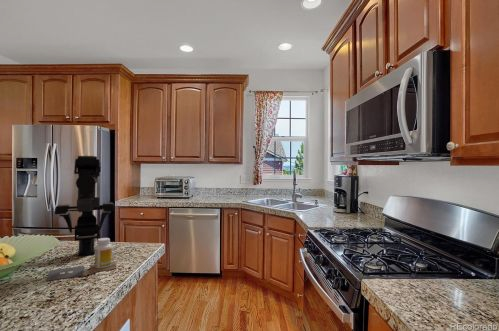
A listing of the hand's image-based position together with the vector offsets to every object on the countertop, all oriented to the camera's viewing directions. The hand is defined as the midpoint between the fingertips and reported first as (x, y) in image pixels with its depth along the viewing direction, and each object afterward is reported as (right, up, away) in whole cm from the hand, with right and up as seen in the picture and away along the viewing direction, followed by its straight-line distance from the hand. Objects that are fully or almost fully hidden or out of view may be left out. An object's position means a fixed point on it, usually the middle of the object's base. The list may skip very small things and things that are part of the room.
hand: (85, 231), depth 101 cm
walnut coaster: (+8, -12, -3) cm, 15 cm away
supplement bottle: (+8, -12, -3) cm, 15 cm away
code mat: (-1, -12, -10) cm, 15 cm away
